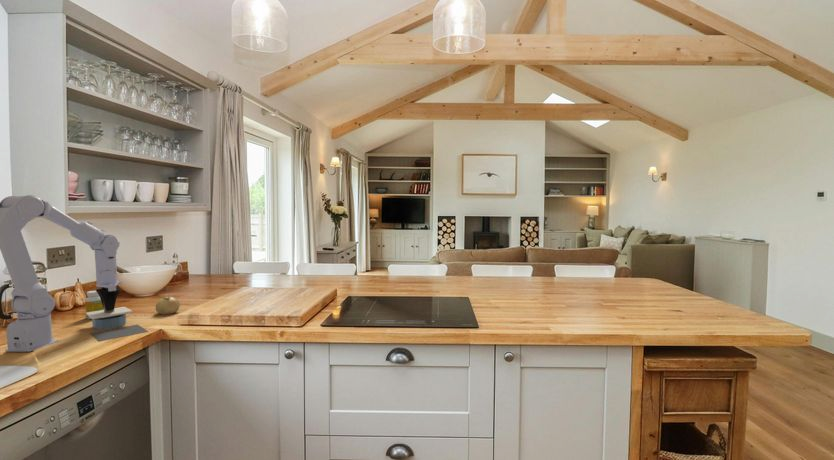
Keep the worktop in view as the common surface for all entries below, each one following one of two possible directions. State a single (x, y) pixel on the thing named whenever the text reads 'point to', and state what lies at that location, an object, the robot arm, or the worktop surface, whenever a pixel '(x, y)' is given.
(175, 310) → the onion
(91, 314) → the cover
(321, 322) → the worktop surface
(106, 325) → the bowl
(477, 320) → the worktop surface
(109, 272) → the robot arm
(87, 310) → the supplement bottle
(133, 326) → the mat
